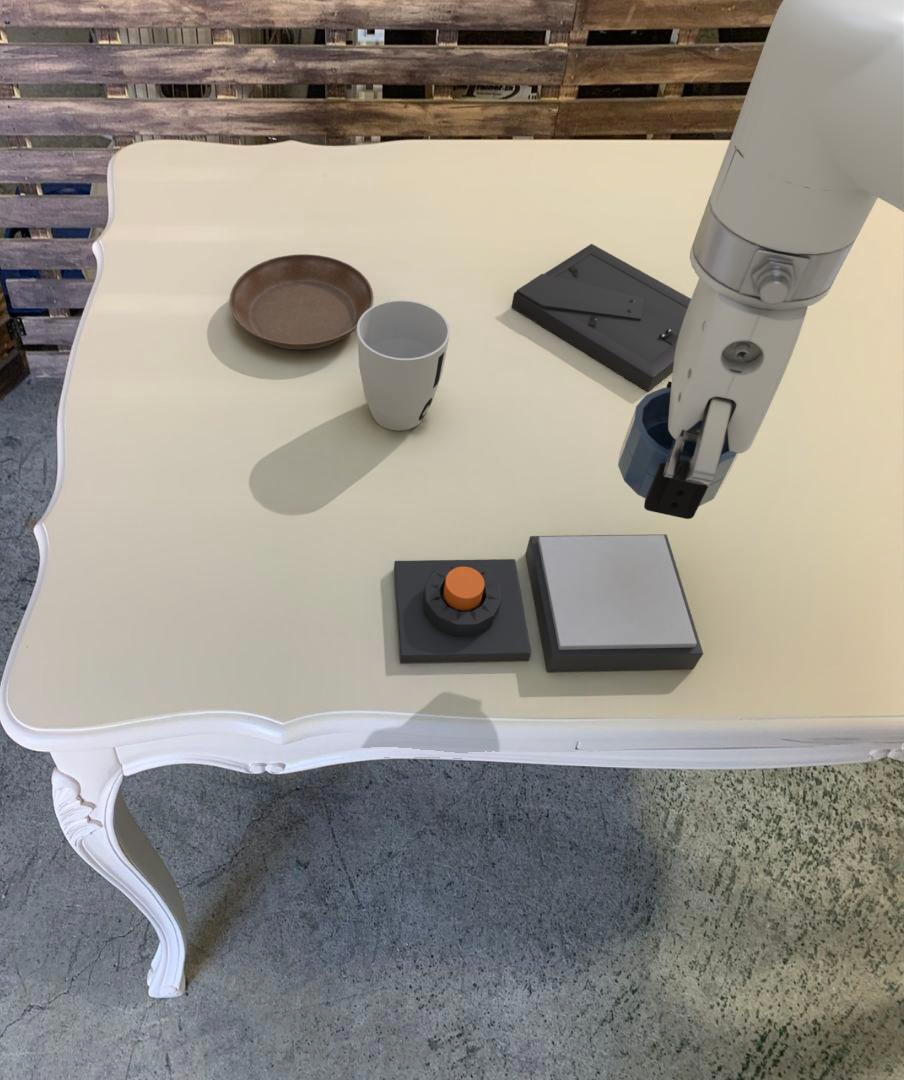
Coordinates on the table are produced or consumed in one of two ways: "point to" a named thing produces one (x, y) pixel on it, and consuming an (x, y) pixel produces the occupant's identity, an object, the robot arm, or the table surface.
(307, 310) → the saucer
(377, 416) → the cup
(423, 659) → the panel
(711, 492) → the blue round container
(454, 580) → the button
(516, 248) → the table surface
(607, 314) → the picture frame
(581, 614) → the scale
